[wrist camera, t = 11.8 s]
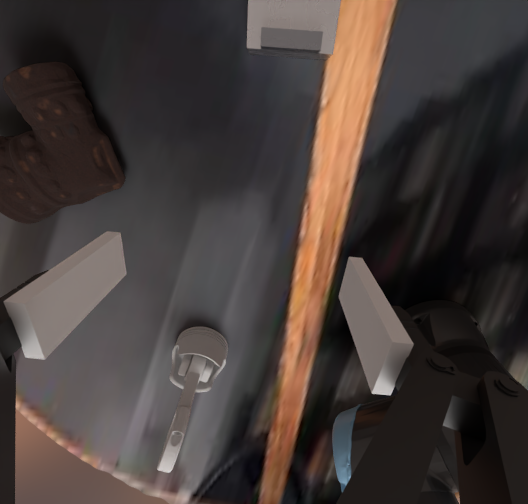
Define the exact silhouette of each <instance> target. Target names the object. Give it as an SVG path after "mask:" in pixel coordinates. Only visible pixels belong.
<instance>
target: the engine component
mask: <svg viewBox="0 0 528 504" xmlns="http://www.w3.org/2000/svg"><path fill="white" fill-rule="evenodd" d="M227 352H228V344H227V341H226V339H225V338H224V337H223V336H222V335H221V334H220V333H219V332H217V331H215V330H214V329H211V328H208V327H191V328H188V329H186V330H184V331H183V332H182V333H181V334H180V335H179V337H178V339H177V342H176V344H175V347H174V349H173V353H172V369H171V373H170V380H171V382H172V383H173V384H175V385H176V386H178V387H180V388H182V389H183V391H182V394H181V397H180V400H179V403H178V406H177V409H176V412H175V415H174V418H173V421H172V424H171V426H170V429H169V432H168V435H167V438H166V441H165V444H164V447H163V450H162V453H161V456H160V459H159V463H158V466H157V470H159V471H163V472H168V473H170V472H171V471H172V469H173V467H174V464H175V461H176V459H177V456H178V453H179V450H180V447H181V444H182V441H183V438H184V435H185V431H186V428H187V424H188V421H189V417H190V412H191V405H192V402H193V398H194V395H195V392H206V391H209V390H210V389H211V388H212V384H213V381H214V380H215V378H216V376H217V375H218V374H219V373H220V371H221V370H222V369H223V367H224V365H225V362H226V357H227Z"/></svg>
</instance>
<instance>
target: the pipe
mask: <svg viewBox="0 0 528 504" xmlns="http://www.w3.org/2000/svg"><path fill="white" fill-rule="evenodd" d="M3 88H4V90H5V92H6V93H7V95H8V96H9V97H10V99H11V102H12V103H13V104H14V105H16V107H17V110H18V111H19V112H20V113H21V114H22V116H23V118H24V120H25V121H26V122H27V123H28V124H29V125H30V126H31V127H32V131H28V132H25V133H23V134H21V135H17V136H15V137H14V136H9V137H3V136H0V212H1V213H2V214H4V215H5V216H7V217H9V218H11V219H13V220H15V221H18V222H21V223H25V224H31V223H36V222H39V221H41V220H43V219H45V218H47V217H49V216H51V215H53V214H54V213H55V212H57V211H58V210H59V209H61V208H63V207H66V206H70V205H75V204H82V203H84V202H87V201H89V200H91V199H93V198H95V197H97V196H99V195H102V194H104V193H107V192H110V191H113V190H116V189H119V188H121V187H122V186H123V184H124V182H125V179H126V178H125V175H124V173H123V170H122V168H121V166H120V164H119V161H118V159H117V157H116V154H115V152H114V150H113V147H112V145H111V142H110V139H109V138H108V136H107V135H106V134H104V133H103V132H102V131H100V130H99V128H98V126H97V124H96V121H95V119H94V114H93V113H92V110H93V107H92V105H91V103H90V101H89V100H88V99H87V98H86V97H85V90H84V89H83V88H82V83H81V82H80V81H79V79H78V78H77V76H76V74H75V72H74V71H73V69H72V68H71V67H69V66H68V65H67V64H65V63H61V62H45V63H37V64H32V65H29V66H25V67H22V68H18V69H16V70H14V71H12V72H11V73H10V74H9V75H7V76H6V77H5V78H4V81H3Z"/></svg>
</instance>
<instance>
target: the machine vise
mask: <svg viewBox="0 0 528 504" xmlns="http://www.w3.org/2000/svg"><path fill="white" fill-rule="evenodd" d="M340 2H341V0H248V25H247V50H248V52H249V54H250V55H259V56H272V57H286V58H300V59H314V60H327V59H328V58H329V57H331V56H332V55H333V50H334V43H335V36H336V30H337V23H338V16H339V9H340Z"/></svg>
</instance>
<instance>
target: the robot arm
mask: <svg viewBox="0 0 528 504" xmlns="http://www.w3.org/2000/svg"><path fill="white" fill-rule="evenodd" d="M126 274H127V273H126V267H125V260H124V253H123V246H122V240H121V233H118V232H109V231H107V232H105V233H104V234H102V235H101V236H99V237H98V238H96V239H95V240H93V241H92V242H91V243H89V244H88V245H86V246H85V247H83V248H82V249H80V250H79V251H77V252H76V253H74V254H73V255H71V256H70V257H68V258H67V259H65V260H64V261H62V262H61V263H59V264H58V265H56V266H55V267H53V268H52V269H51V270H47V271H44V272H42V273H39V274H37V275H35V276H33V277H32V278H30V279H29V280H27V281H25V283H22V284H21V285H19V286H18V287H17V289H16V288H15V289H13V290H12V291H10V292H9V293H7V294H6V295H4V296H3V297H1V298H0V504H15V406H16V360H15V357H14V355H13V353H14V352H16V351H17V350H18V349H19V348H20V347H22V349H23V352H24V354H25V357H26V358H35V359H46V358H47V357H48V356H49V355H50V354H51V353H52V352H53V350H54V349H55V348H56V347H57V346H58V345H59V344H60V343H61V342H62V341H63V340H64V339H65V338H66V337H67V336H68V335H69V334H70V333H71V332H72V331H73V330H74V329H75V327H76V326H77V325H78V324H79V323H80V322H81V321H82V320H83V319H84V318H85V317H86V316H87V315H88V314H89V313H90V312H91V311H92V310H93V309H94V308H95V307H96V306H97V304H98V303H99V302H100V301H101V300H102V299H103V298H104V297H105V296H106V295H107V294H108V293H109V292H110V291H111V290H112V289H113V288H114V287H115V286H116V285H117V284H118V282H119V281H120V280H121V279H122V278H123V277H124V276H125V275H126ZM339 299H340V302H341V305H342V308H343V311H344V314H345V317H346V319H347V322H348V325H349V328H350V331H351V334H352V337H353V340H354V343H355V346H356V349H357V352H358V355H359V358H360V361H361V364H362V366H363V369H364V372H365V375H366V378H367V381H368V384H369V387H370V390H371V393H373V394H382V395H391V393H392V391H393V389H394V387H395V385H396V388H397V390H398V393H397V395H395V396H392V397H388V398H385V399H381V400H378V401H374V402H370V403H367V404H359V405H357V406H356V407H355V408H352V409H349V410H346V411H343V412H341V413H340V414H339V415H338V416H337V417H336V420H335V423H334V426H333V435H332V441H333V454H334V461H335V467H336V472H337V476H338V480H339V482H340V483H341V489H342V494H341V496H340V498H339V499H338V501H337V503H336V504H459V503H458V501H457V499H456V497H455V494H454V493H455V492H458V491H459V495H460V504H528V390H527V389H525V388H524V387H523V386H522V385H521V384H520V383H519V382H517V381H516V380H515V379H514V378H513V376H512V375H511V374H510V373H509V372H508V371H507V370H506V369H505V368H504V367H503V365H502V364H501V363H500V362H499V361H498V360H497V359H496V358H495V357H494V355H493V354H492V353H491V352H490V350H489V348H488V345H487V343H486V341H485V338H484V336H483V334H482V333H481V328H480V326H479V323H478V322H477V320H476V319H475V317H474V316H473V315H472V314H471V313H470V312H469V311H468V310H467V309H466V308H465V307H463V306H462V305H460V304H458V303H455V302H452V301H447V300H432V301H426V302H422V303H419V304H416V305H414V306H412V307H409V308H408V309H406V310H404V309H402V308H401V307H400V306H393V305H390V304H389V302H388V300H387V299H386V297H385V295H384V294H383V292H382V290H381V289H380V287H379V285H378V284H377V282H376V280H375V279H374V277H373V275H372V274H371V272H370V270H369V269H368V267H367V265H366V264H365V262H364V260H363V259H362V258H356V257H349V259H348V263H347V266H346V270H345V274H344V278H343V282H342V285H341V289H340V293H339ZM449 472H450V473H449ZM455 485H456V486H455ZM456 487H457V488H456Z"/></svg>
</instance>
